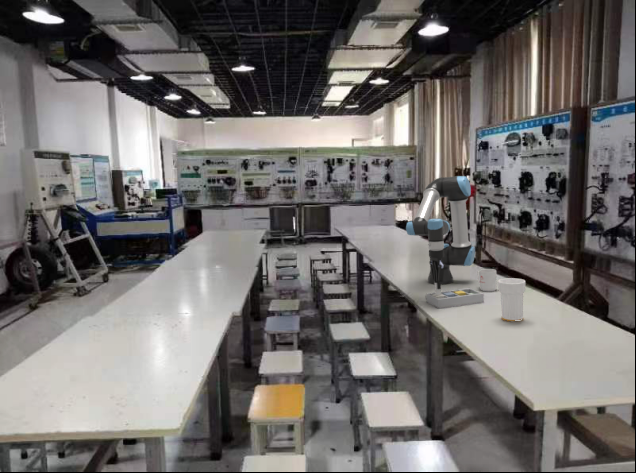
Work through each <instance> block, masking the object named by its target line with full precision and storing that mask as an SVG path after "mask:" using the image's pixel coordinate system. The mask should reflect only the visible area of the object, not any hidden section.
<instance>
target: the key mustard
mask: <svg viewBox="0 0 636 473" xmlns="http://www.w3.org/2000/svg"><path fill="white" fill-rule="evenodd" d="M454 293H455V294H457V295H460V296H463V295H466V292H463V291H456V292H454Z"/></svg>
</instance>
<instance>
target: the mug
mask: <svg viewBox="0 0 636 473" xmlns="http://www.w3.org/2000/svg"><path fill="white" fill-rule="evenodd" d="M476 272H477V282H478V283H479V289H480V290H481V291H482V292H487V293H488V292H495V291H496V290H497V289H498V287H497V286H498V285H497V284H498V280H497V270H496V269H493V268H483V269H479V271H476Z"/></svg>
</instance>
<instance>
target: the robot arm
mask: <svg viewBox="0 0 636 473" xmlns="http://www.w3.org/2000/svg"><path fill="white" fill-rule="evenodd" d="M471 191H472V188H471V183H470V180H469V179H468V177H467V176H465V175H464V176H463V175H461V176H460V175H456V176H455V175H454V176H447V177H446V176H444V177H443V176H442V177H438V178H435V179H433V180H432V181H431V182H430V183H429V184H427V186H426V187H425V188H424V190H423V192H422V193H423V194H422V195H423V198H422V200H421V203H420V204H419V206H418V209H417V211H416V213H415V216H414V218H413V221H412V220H411V221H408V222H406V226H405V231H406V234H407V235H408V236H417V237H418V236H427V237H428V238H427V239H428V240H427V241H428V243H427V246H428V249H429V250H428V257H429V262H428V263H429V273H428V277H427V283H428V284H431V285H432V284H433V285H434V292H435V295H441V292H442V285H446V284H451V283H453V282H454V277H453V275H452V272H451V269H450V268H451V266H456V267H457V266H459V267H462V266H463V267H467V266H472V265H473V264H474V260H475V254H476V247H475V246H472V242H471V241H470V240H469V232H468V218H467V216H468V214H467V204H466V203H467V201H468V200H469V197H470V196H471V195H472V194H471V193H472V192H471ZM440 198H447V202H449V204H450V216H451V217H450V218H451V224H450V223H449V222H448V221H447V220H443V218H430V217H431V214H432V212H433V210H434V207H435V205H436V202H438V201H439V199H440ZM451 229H452V238H453V240H452V243H451V244H449V243H445V242H444V235H447V234H448V233H449V232H450V230H451Z"/></svg>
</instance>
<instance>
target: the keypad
mask: <svg viewBox="0 0 636 473" xmlns="http://www.w3.org/2000/svg"><path fill="white" fill-rule="evenodd" d="M456 291H463V292H466V295H463V296H460V295H457V294H455V293H454V292H456ZM448 292H452V293H454V294H455V297H448V296H446V295H444V294H443V293H448ZM469 293H473V294H469ZM433 294H435V291H434V292H428V293H426V294H425V297H426V298H425V299H426V303H427V304H429V305H431V306H432V307H435V308H437V309H445V308H452V307H458V306H460V307H461V306H469V305H475V304H482V303H483V304H484V303H485V298H484V296H485V293H483V292H481V291H477V290H475V289H473V288H470V287H467V288H458V289H452V290H450V289H449V290H444V291H443V290H441V294H442V295H444V298H440V299H438V298H436V297H434V296H432V295H433Z"/></svg>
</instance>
